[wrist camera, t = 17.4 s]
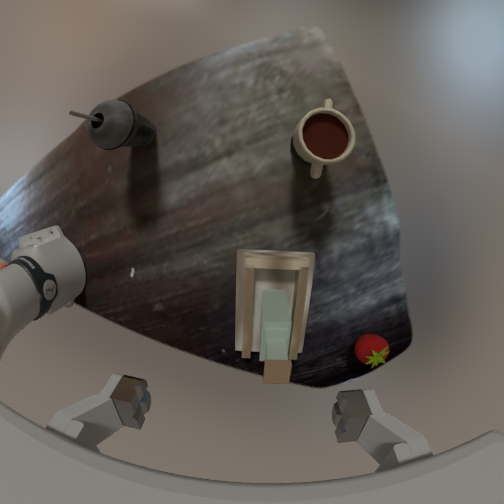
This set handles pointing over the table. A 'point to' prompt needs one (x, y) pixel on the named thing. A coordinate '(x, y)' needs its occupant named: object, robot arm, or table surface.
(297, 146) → the character mug
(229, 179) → the table surface
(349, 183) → the table surface
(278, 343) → the pale green flat bottle
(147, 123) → the beverage cup
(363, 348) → the strawberry
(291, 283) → the u rest
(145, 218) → the table surface
